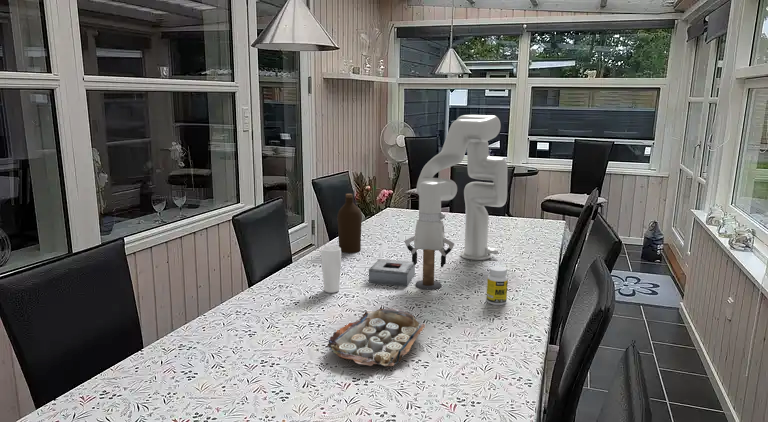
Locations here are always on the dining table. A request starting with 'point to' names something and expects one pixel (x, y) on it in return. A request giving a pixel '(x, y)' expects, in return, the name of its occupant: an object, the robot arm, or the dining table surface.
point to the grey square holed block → (392, 272)
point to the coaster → (436, 286)
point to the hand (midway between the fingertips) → (428, 265)
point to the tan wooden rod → (428, 267)
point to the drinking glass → (331, 268)
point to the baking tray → (377, 337)
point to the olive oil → (349, 226)
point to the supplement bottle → (497, 285)
